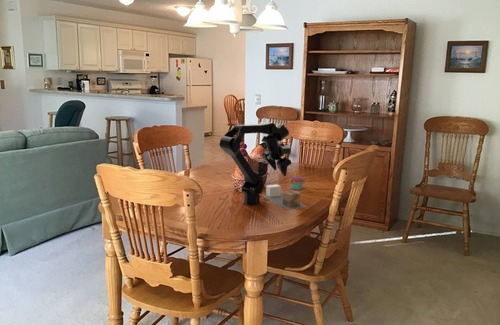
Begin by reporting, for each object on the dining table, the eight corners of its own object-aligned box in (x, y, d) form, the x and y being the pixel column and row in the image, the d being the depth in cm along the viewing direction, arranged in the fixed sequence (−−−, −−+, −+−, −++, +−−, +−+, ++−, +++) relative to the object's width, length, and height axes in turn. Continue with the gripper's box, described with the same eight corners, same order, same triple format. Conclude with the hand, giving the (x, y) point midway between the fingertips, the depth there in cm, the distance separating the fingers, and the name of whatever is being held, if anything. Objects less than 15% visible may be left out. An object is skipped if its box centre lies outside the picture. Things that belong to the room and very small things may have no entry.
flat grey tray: (287, 211, 192) (287, 199, 191) (261, 196, 214) (261, 185, 212) (307, 208, 197) (308, 196, 196) (280, 194, 218) (280, 183, 217)
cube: (289, 207, 195) (289, 194, 194) (282, 203, 200) (283, 191, 199) (300, 205, 198) (300, 193, 196) (293, 202, 203) (293, 190, 202)
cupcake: (292, 191, 226) (292, 169, 223) (286, 187, 234) (287, 165, 231) (306, 190, 228) (307, 168, 225) (301, 186, 236) (301, 165, 233)
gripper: (297, 144, 199) (303, 171, 207) (276, 134, 215) (283, 160, 222) (277, 154, 196) (285, 182, 203) (258, 143, 212) (266, 169, 219)
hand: (280, 172), depth 212 cm, fingers open, 9 cm apart
